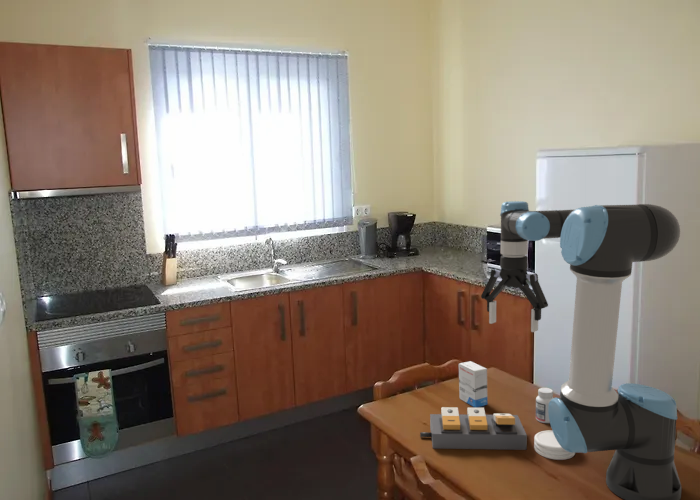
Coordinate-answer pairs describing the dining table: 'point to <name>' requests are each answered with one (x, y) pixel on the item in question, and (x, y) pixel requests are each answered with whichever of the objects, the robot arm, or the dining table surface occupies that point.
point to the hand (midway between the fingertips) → (513, 326)
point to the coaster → (550, 446)
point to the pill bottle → (543, 404)
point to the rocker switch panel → (477, 435)
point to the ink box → (473, 384)
